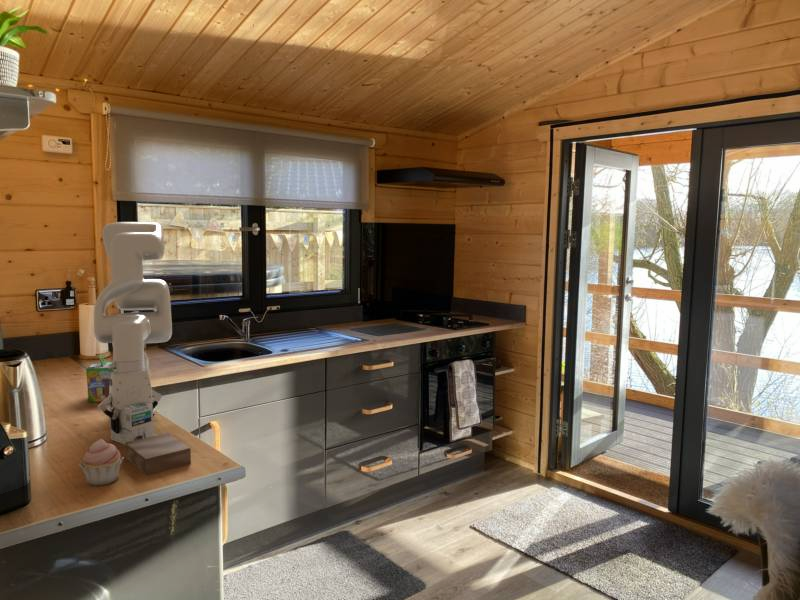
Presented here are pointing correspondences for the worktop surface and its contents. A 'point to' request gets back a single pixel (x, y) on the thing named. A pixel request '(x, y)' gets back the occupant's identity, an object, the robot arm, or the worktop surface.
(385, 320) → the worktop surface
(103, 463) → the cupcake
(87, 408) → the worktop surface
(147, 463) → the walnut base block
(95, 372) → the chalk box
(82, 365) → the worktop surface
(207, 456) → the worktop surface
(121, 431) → the light bulb box
